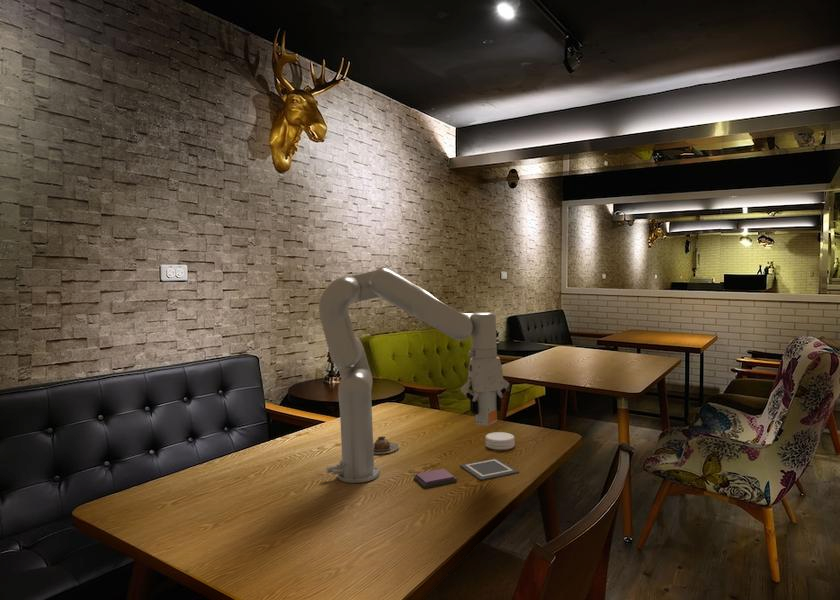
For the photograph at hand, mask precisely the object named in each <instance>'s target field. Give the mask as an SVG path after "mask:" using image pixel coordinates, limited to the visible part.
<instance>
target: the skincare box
mask: <svg viewBox="0 0 840 600" xmlns="http://www.w3.org/2000/svg"><path fill="white" fill-rule="evenodd" d="M476 401H478V415H475V414H474V415H475V416H474V417H475V424H476V425H480V426H485V427H488V426H490V425H492V424H494V423H496V422H497V421H498V418H497V416H498V414H497V412H498V411H497V401H496V391H493V392H489V389H488V386H485V392H484V393H479V394H478V397H477V399H476Z"/></svg>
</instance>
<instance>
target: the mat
mask: <svg viewBox="0 0 840 600" xmlns="http://www.w3.org/2000/svg"><path fill="white" fill-rule="evenodd" d="M459 467H460V468H461V469H463V470H465V471H466V472H468V473H469V474H471V476H473V477H475V478H476V479H478V480H479V481H480V482H481V481H487V480H489V479H490V480H491V479H496V478H500V477H505V476H511V475H515V474H519V473H520V472H519V470H517V469H515V468H514V467H512V466H510V465H508V464H507V463H505V462H504V461H501V460H500V459H499V458H489V459H485V460H480V461H474V462H469V463H465V464H460V465H459Z"/></svg>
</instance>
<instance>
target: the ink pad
mask: <svg viewBox="0 0 840 600" xmlns="http://www.w3.org/2000/svg"><path fill="white" fill-rule="evenodd" d="M413 479H414V480H415V481H416V482H417V483H418V484H419V485H420V486H422V487H423V488H424V489H428V488H432V487H438V486H443V485H447V484H452V483H457V482H458V481H457V477H456V476H454V475H453V474H452V473H450V472H449V471H448V470H446V469H445V468H440V469H434V470H430V471H429V470H428V471H423V472H419V473H416V474H415V475H413Z"/></svg>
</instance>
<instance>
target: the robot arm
mask: <svg viewBox="0 0 840 600" xmlns="http://www.w3.org/2000/svg"><path fill="white" fill-rule="evenodd" d="M376 298H381V299H383V300H385V301H386V302H388V303H390V304H391V305H393V306H395V307H397V308H399V309H400V310H401V311H404V312H406V313H407V314H409V315H411V316H412V317H414V318H415V319H418V320H420V321H422V322H424V323H426V324H427V325H429V326H431V327H432V328H434V329H436V330H438V331H439V332H441V333H443V334H444V335H446V336H448V337H450V338H452V339H454V340H456V341H464V340H467V339H468V338H470V339H471V340H470V341H471V347H470V350H469V351H468V352H467V355H468V356H469V357H471V358H470V359H469V363H468V364H469V365H468V375H467V381H466V382H465V383H464V384H463V385H462V386H461V388H460V391H461V392H462V394H464V396H465V398H467V399H468V400H469V404H470V407H469V408H470V411H471V414H474V415H478V401H476V399H477V397H478V394H479V393H484V392H485V386H488V389H489V392H493V391H496V401H497V412H501V411H502V398H503V397H504V394H505V393H506V391H507V389H508V387H509V386H510V382H508V380H506V379H504V374H503V367H502V363H501V358H500V356H498V353H497V352H498V349H497V319H496V318H497V317H496V315H495V313H492V312H487V311H486V312H475V313H467V312H466V313H465V312H459V311H458V310H456V309H455V308H452V307H450V305H447V304H446V303H444V302H442V301H441V300H439V299H437V298H436V297H435V296H433V294H431V293H430V292H429V291H427V290H426V289H424V288H422V287H420V286H419V285H416V284H415V283H414V282H411V281H409V280H408V279H407V278H404V277H403V276H401V275H399V274H398V273H396V272H395V271H392V270H390V269H389V268H385V267H382V268H381V267H380V268H377V269H375V270H371V271H368V272H367V271H366V272H364V273H359V274H354V275H349V276H342V277H338V278H337V279H336V278H335V280H333V281H332V282H331V283H330V284H329V285H328V286H327V287H326V288H325V289H324V291H323V292H322V294H321V296H320V299H319V303H318V314H319V318H320V322H321V326H322V330H323V334H324V337H325V341H326V345H327V348H328V353H329V356H330V359H331V362H332V363H333V364H334V366H335V367H337V368H338V371H339V375H340V378H341V379H340V382H339V384H338V391H337V394H338V396H337V397H338V405H339V406H338V407H339V419H340V435H341V436H340V439H341V441H340V444H341V459H340V460H339V463H336V465H330V466H329V465H328V466H326V473H327V474H331V473H332V475H337V479H338V480H340V482H344V483H349V484H359V483H366V482H371V481H373V480H375V479H377V478H378V477H379V475H380V473H381V472H380V468H378V467H377V466H376V465H375V454H374V452H375V450H374V449H373V443H374V432H373V431H374V430H373V426H374V425H373V406H372V405H373V404H372V389H373V383H374V382H373V375H372V372H371V368H370V365H369V362H368V358H367V353H366V352H365V348H364V345H363V342H362V341H361V339H360V338H358V337H357V336H356V335H355V331H354V328H353V324H352V321H351V318H350V314H349V307H350V306H351V305H353V304H354V303H360V302H363V301H367V300H372V299H376ZM469 390H470V392H469Z"/></svg>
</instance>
